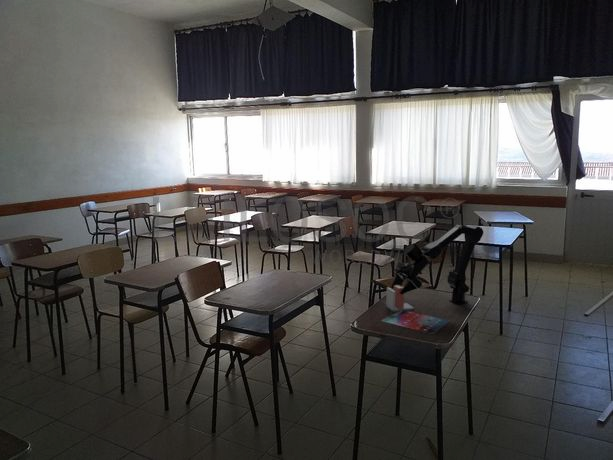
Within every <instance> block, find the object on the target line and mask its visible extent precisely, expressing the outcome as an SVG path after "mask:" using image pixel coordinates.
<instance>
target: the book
mask: <svg viewBox="0 0 613 460" xmlns="http://www.w3.org/2000/svg"><path fill="white" fill-rule="evenodd" d="M403 288H404V286H401V284H399V285H394V288H393V289H392V290H394V291H395V307H396V308H397V309H400V308H404V303H405V293H404V294H400V292H401V290H402V289H403Z"/></svg>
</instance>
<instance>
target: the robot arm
mask: <svg viewBox="0 0 613 460" xmlns="http://www.w3.org/2000/svg"><path fill="white" fill-rule="evenodd" d="M462 234H463V235H464V244H463V247H462V250H461V253H460V255H459V258H458V260H457V263H456V266H455V268H454V269H453V271H452V270H450V271H448V275H447V277H446V279H447V284H448V285H449V287H450V289H451V290H452V294H451V299H449V302H451V303H454V304H456V305H462V304H466V303H468V302H469V301H468V300H466V293H469V291H470V287H469V286H468V285H467V284H466V280H467V277H466V276H467V274H466V271H467V269H468V265H469V264H470V259H471V257H472V255H473V252H474V249H475V247H476V245H477V244H478V243H479V242H480V241H481V239H482V238H483V236H484V230H483V228H482V227H480V226H476V225H474V224H469V225H463V224H456V225H454V226H453V228H451V229H450V230H448V232H446V233H444V235H442V236H441V237H440V238H438V239H437V240H435V241H431V242H430V243H428V244H426V245H424V247H419V246H418V245H417V243H415V242H412V243H410V244H409V245H407V246H406V247H405V248H404V250H403V253H404V254H405V256H406V257H407V258H408V259H409V260H411V261H412V263H408V262H407V263H404V262H401V261H398V263H397V265H396V267H395V269H394V270H393V272H394V279H393V282H392V284H391V286H390V288H391V289H392V290H393V289H394V285H401V284H402V283H403V282H405V280H406V283H405V285H404V286H403V289H402V290H401V292H400V294H404V295H405V294H407V293H409V292H411V291H413V290H417V289H419V290H420V289H421V288H422V286H423V283H422V281H420V280H419V278H418V276H419V275H422V274H423V270H424V269H426V267H428V266H430V267H432V266H433V260H435V259H437V258H438V257H439V256H440V255H441V254H442V253H443V251H444V249H445V248H446V247H447V246H448V245H450V244H451V243H452V242H453V241H455V240H456V239H457V238H459V237H460V236H461V235H462ZM429 258H430V259H429ZM432 259H433V260H432Z"/></svg>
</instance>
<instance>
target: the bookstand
mask: <svg viewBox="0 0 613 460" xmlns="http://www.w3.org/2000/svg"><path fill="white" fill-rule="evenodd" d="M385 308H387V309H388V310H389V311H391V313H395V312H397V311H405V310H406V311H413V310H414V309H415V308H414V307H413V306H412V305H410V304H409V303H407V302H404V308H400V309H397V308H396V307H395V291H394V290H393V289H392V288H391V287H386V305H385Z"/></svg>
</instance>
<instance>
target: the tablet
mask: <svg viewBox="0 0 613 460" xmlns="http://www.w3.org/2000/svg"><path fill="white" fill-rule="evenodd" d="M380 322H381V323H382V322H383V323H385V324H388V325H389V324H390V325H391V326H392V325H393V326H397V327H401V328H405V329H407V330H412V331H416V332H420V333H423V334H425V335H426V334H427V335H430V336H431V335H434V334H435V333H437V332H438V331H440V330H441V329H442V328H443V327H445V326H446V325H448V324H449V323H450V320H449V319H444V318H441V317H440V318H439V317H435V316H431V315H428V314H423V313H418V312H414V311H411V310H407V311H406V310H405V311H397V312H392V313H391V314H389V315H388V316H386V317H384V318H383V319H380Z"/></svg>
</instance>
